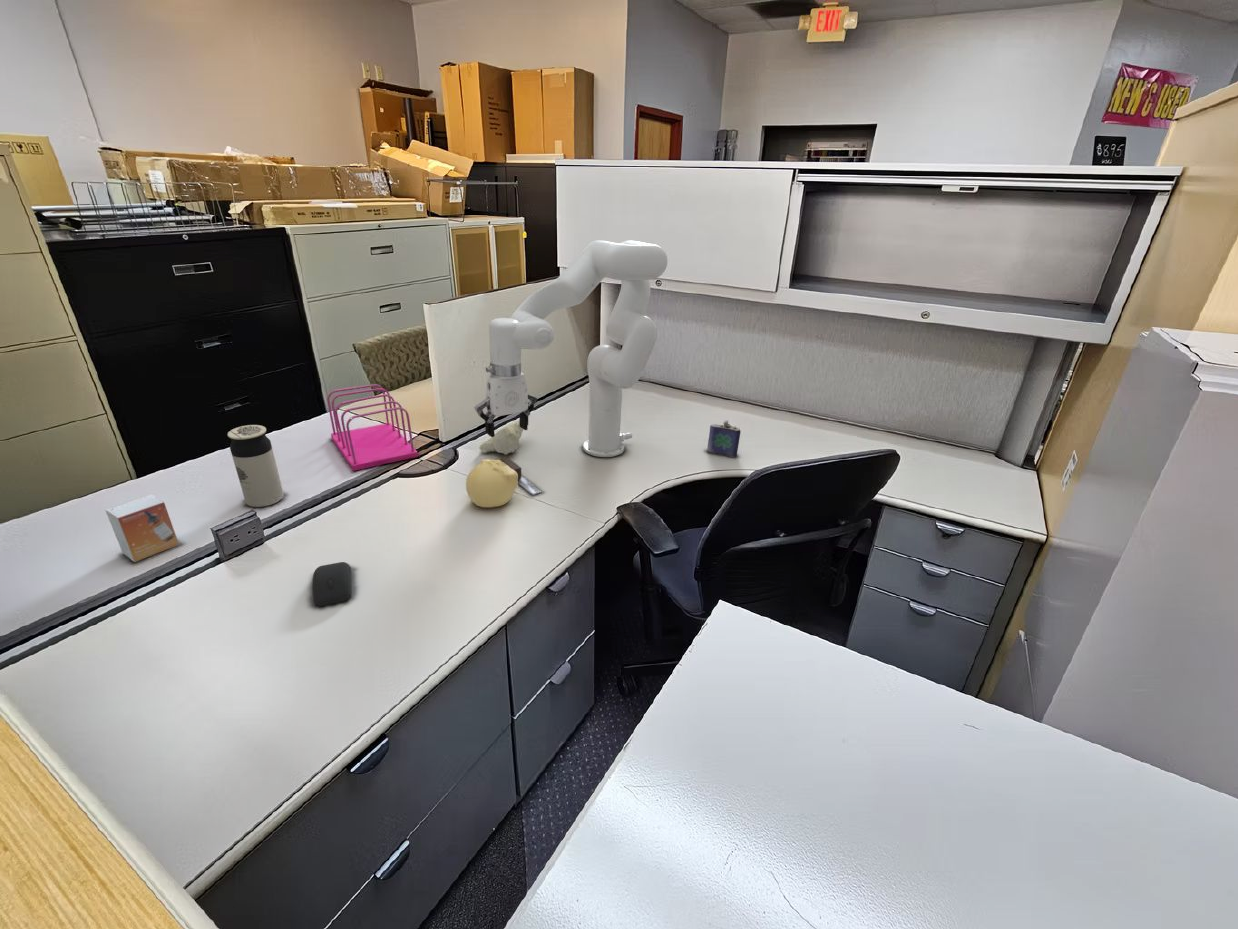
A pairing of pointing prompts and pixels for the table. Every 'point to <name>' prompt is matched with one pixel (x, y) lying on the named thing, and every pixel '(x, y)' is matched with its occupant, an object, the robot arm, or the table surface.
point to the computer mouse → (332, 584)
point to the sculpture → (491, 483)
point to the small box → (142, 527)
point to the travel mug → (255, 465)
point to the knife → (521, 479)
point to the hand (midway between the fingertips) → (507, 431)
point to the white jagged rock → (504, 440)
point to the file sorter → (371, 434)
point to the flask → (723, 439)
